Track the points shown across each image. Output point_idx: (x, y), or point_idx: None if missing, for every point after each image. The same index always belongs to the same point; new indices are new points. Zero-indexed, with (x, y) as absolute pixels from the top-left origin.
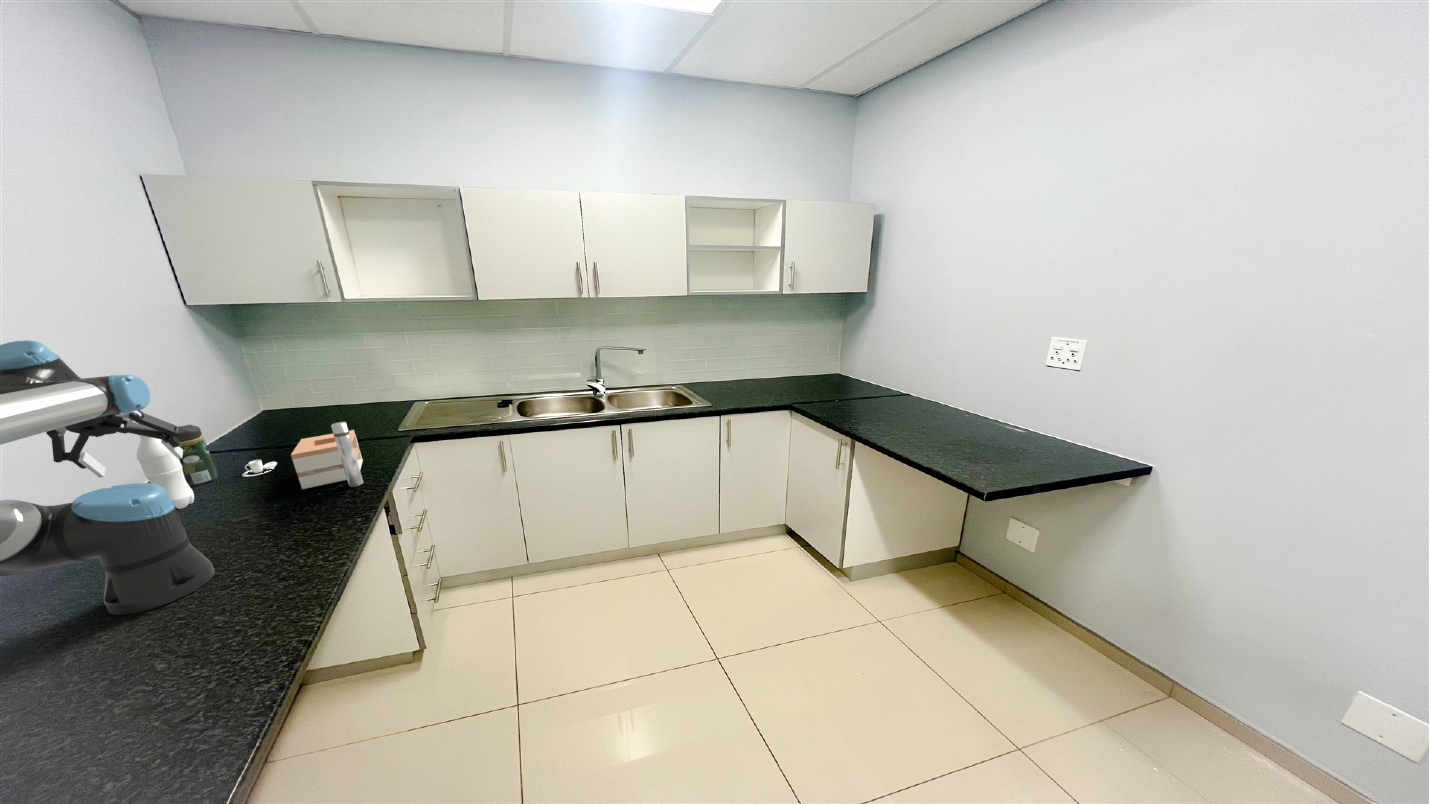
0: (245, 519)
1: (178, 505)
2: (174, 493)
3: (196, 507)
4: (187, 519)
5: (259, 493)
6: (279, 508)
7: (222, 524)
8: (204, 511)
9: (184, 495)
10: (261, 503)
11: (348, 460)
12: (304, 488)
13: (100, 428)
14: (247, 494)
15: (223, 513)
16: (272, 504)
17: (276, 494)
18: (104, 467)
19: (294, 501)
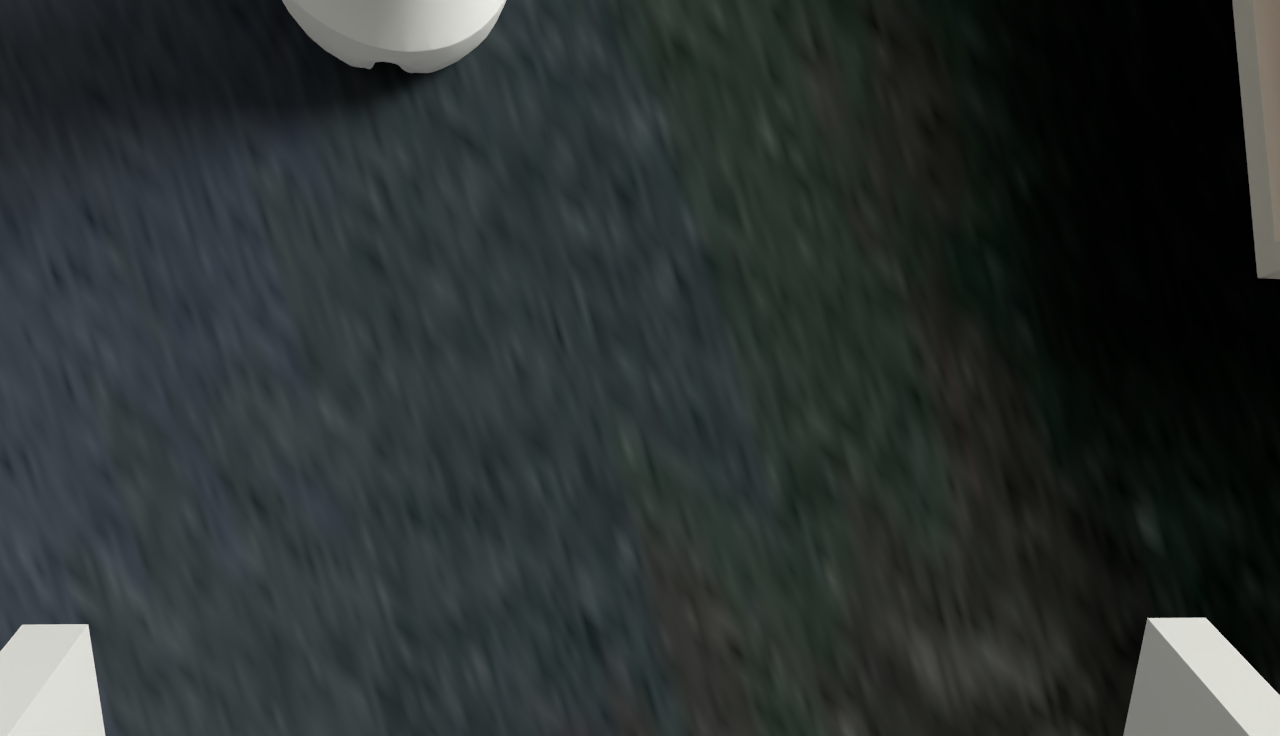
0: (1006, 711)
1: (431, 69)
2: (432, 2)
3: (543, 117)
4: (555, 377)
5: (949, 128)
6: None
7: (862, 706)
8: (635, 270)
9: (483, 3)
10: (1029, 399)
11: None
12: (1274, 277)
13: None
14: (861, 82)
15: (798, 434)
16: (1119, 489)
17: (1088, 256)
18: (72, 667)
19: (1268, 539)
